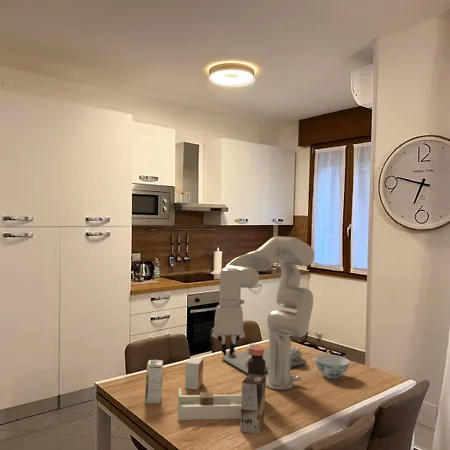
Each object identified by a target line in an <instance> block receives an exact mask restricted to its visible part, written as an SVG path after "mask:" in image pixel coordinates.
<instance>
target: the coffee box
mask: <svg viewBox="0 0 450 450" xmlns="http://www.w3.org/2000/svg"><path fill="white" fill-rule="evenodd" d="M266 378H267V376H266V375H265V376H262V375H255V374H254V375H253V374H247V376H246V377H245V378H244V379H243V380H242V382H241V383H242V385H241V395H242V402H241V419H240V428H239V430H240V431H241V432H245V433H250V434H257V435H258V434H259V433H260V431H261V429H262V427H263V425H264V423H265V412H266V411H265V409H266V408H265V407H266V388H267V386H266Z"/></svg>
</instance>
